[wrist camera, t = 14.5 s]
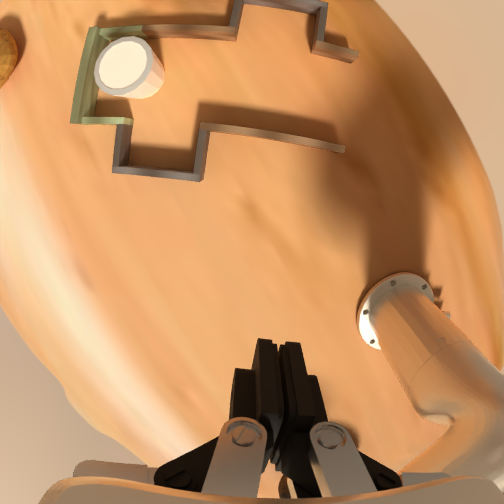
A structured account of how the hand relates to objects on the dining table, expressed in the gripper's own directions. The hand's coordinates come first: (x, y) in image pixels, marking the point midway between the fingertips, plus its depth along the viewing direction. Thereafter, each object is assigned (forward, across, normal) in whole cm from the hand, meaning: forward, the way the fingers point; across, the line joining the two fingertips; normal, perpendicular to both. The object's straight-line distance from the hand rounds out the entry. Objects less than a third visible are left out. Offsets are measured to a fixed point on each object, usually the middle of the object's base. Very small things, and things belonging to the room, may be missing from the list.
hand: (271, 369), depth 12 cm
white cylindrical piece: (+27, +17, -16) cm, 36 cm away
